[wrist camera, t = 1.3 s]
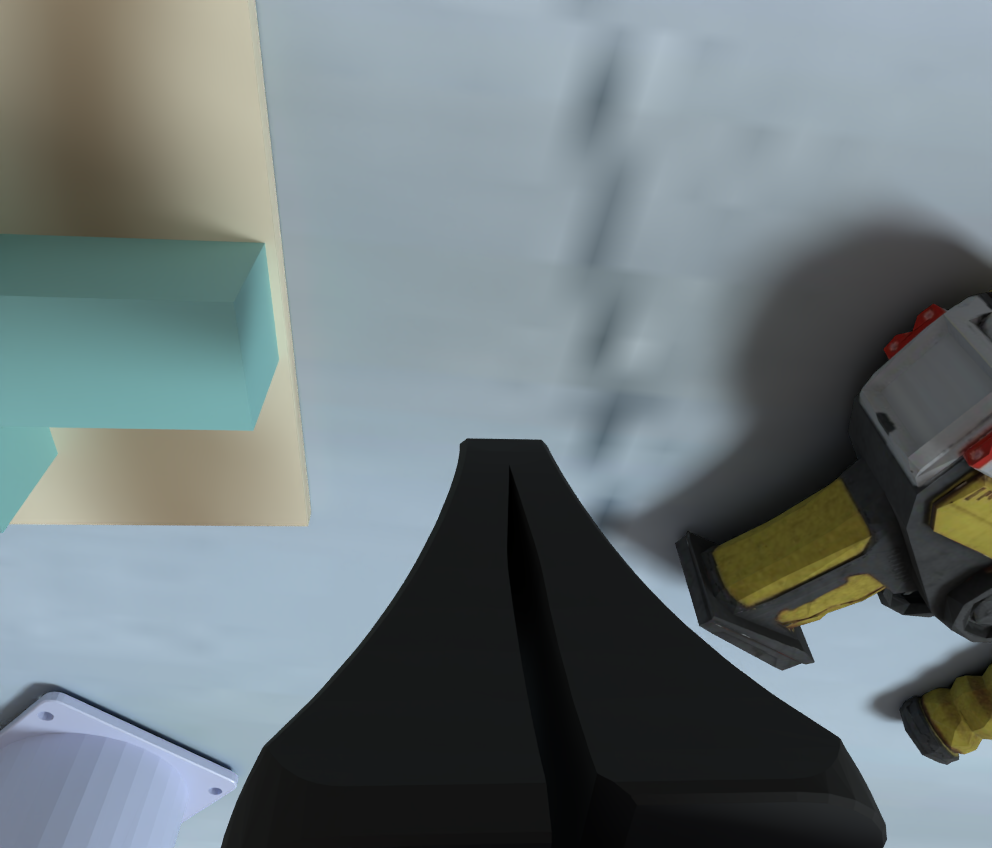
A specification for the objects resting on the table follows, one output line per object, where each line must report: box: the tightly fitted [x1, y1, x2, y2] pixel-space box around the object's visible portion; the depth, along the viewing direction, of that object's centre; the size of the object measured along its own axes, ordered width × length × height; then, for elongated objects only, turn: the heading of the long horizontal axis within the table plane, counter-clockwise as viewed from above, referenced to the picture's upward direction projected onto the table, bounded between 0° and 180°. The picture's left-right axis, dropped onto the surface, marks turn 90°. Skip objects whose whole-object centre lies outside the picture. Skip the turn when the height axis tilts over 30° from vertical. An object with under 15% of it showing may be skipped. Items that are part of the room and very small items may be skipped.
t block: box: [0, 234, 279, 533], centre depth 16 cm, size 9×9×3 cm
